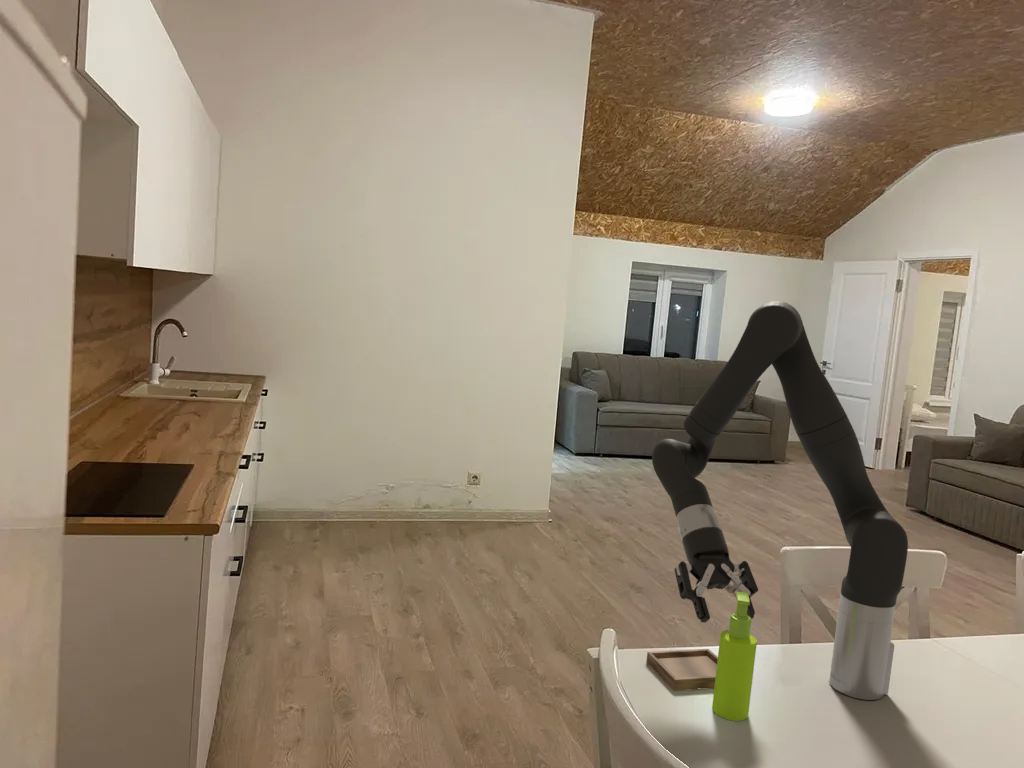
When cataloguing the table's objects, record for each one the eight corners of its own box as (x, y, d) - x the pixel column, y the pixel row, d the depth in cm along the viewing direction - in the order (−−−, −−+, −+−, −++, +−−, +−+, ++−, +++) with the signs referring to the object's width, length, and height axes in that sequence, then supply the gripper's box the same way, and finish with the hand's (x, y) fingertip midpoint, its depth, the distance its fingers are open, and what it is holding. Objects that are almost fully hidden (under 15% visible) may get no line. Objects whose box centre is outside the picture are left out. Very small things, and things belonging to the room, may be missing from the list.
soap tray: (707, 658, 152) (708, 648, 152) (738, 686, 142) (739, 675, 142) (646, 662, 149) (647, 651, 148) (674, 690, 138) (675, 679, 138)
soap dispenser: (745, 703, 136) (759, 591, 134) (749, 723, 129) (763, 606, 127) (710, 697, 137) (723, 586, 135) (712, 717, 130) (726, 600, 128)
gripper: (675, 525, 140) (700, 612, 130) (745, 525, 144) (774, 610, 134) (658, 544, 145) (681, 630, 135) (726, 544, 149) (753, 627, 139)
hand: (728, 620), depth 135 cm, fingers open, 8 cm apart
